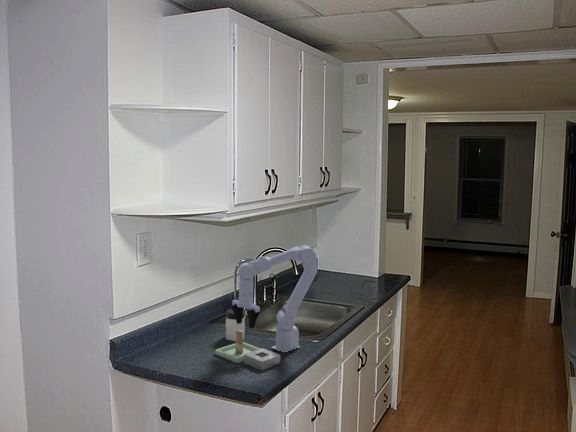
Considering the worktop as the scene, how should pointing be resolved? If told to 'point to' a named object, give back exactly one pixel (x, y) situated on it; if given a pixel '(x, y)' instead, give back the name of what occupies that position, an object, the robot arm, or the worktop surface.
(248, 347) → the tray
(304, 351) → the worktop surface
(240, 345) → the pin
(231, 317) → the jar
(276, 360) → the socket block
